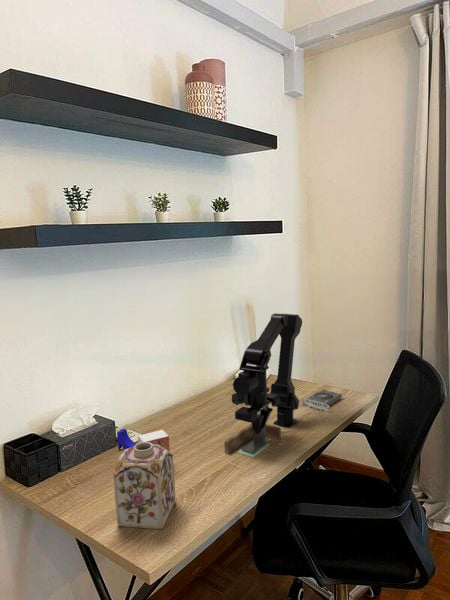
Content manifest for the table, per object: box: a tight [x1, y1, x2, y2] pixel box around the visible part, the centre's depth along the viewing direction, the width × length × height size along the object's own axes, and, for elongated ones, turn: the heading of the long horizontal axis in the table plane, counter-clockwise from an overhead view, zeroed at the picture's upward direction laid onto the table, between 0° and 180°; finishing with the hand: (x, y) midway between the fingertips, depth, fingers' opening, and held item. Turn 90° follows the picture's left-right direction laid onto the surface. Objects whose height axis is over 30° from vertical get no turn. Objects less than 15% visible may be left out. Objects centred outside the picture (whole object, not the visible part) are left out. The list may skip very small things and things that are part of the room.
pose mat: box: [236, 442, 271, 459], centre depth 146 cm, size 10×6×1 cm, turn 144°
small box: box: [137, 429, 171, 453], centre depth 135 cm, size 8×6×10 cm
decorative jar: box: [112, 442, 176, 530], centre depth 112 cm, size 12×12×18 cm
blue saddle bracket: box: [116, 428, 137, 450], centre depth 148 cm, size 12×4×6 cm, turn 65°
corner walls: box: [224, 423, 282, 455], centre depth 147 cm, size 18×10×4 cm, turn 144°
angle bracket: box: [241, 426, 267, 454], centre depth 145 cm, size 8×4×6 cm, turn 144°
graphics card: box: [301, 389, 343, 413], centre depth 182 cm, size 17×4×12 cm
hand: (258, 432), depth 148 cm, fingers closed
